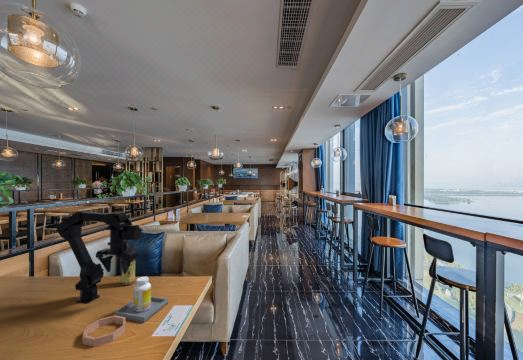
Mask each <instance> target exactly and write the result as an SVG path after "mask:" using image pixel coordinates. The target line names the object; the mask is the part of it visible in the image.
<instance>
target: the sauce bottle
mask: <svg viewBox="0 0 523 360" xmlns="http://www.w3.org/2000/svg"><path fill="white" fill-rule="evenodd" d="M129 251H132V250H128V251H126V252H129ZM126 252H124V253H126ZM135 279H136V259H134V260H132V262H131V263H130V266H129V268H128V271H127V273H126V274H124V273H123V269H122V268H121V285H122V286H125V287H127V286H130V285H133V284H134V283H135Z"/></svg>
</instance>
